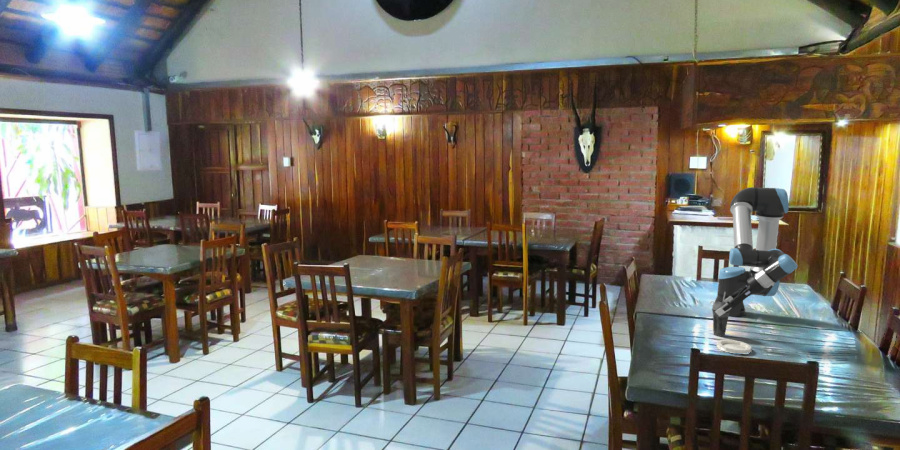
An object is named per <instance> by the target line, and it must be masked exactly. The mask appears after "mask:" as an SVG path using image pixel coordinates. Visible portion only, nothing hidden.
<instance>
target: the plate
mask: <svg viewBox="0 0 900 450" xmlns="http://www.w3.org/2000/svg"><path fill="white" fill-rule="evenodd" d="M717 348H718V350H719V349H720V350H723V351H726V352H730V353H747V352H748V353H749V352H751V353H752V352H753V351H752V346H751V345H750V344H749V343H746V342H744V341H739V340H736V339H735V340H734V339H720V340H718V341H717V343H716V349H717ZM720 350H719V351H720ZM723 351H722V352H723ZM726 352H725V353H726Z"/></svg>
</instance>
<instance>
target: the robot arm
mask: <svg viewBox="0 0 900 450" xmlns="http://www.w3.org/2000/svg"><path fill="white" fill-rule="evenodd" d="M789 204H790V203H789V196H788V192H787V191H786V190H785V189H784V188H777V187H753V186H752V187H746V188H744V189H742V190H739V191H738V192H737V193H736V194H735V195H734V196H733V198H732V200H731V201H730V206H729V207H730V208H729V211H730V213H731V215H732V220H733V221H732V225H733V246H734V247H733V248H731V249H730V250H729V259H728V260H729V261H728V262H729V264H730V265H732V266H727V267H723V268H721V269H720V270H719V272H718V273H719V274H718V277H717V278H718V283H717V295H716V298H715V300H714V301H713V305H714V304H715V303H716V302H718V301H723V297H724V292H726V293H725V298H724V302H726V304H725V305H724V306H722V307H721V308H719V309H718V310H716V311H715V312H716V313H717V314H718V316H719V317H720V316H721V315H723V314H724V313H726V312H727V311H728V310H730V313H729V316H728V317H744V316H745V315H746V307H745V303H744V301H745V300H746V299H747V298H748V297H750V296H751V295H752V296H761V297H774V296H775V295H777V293H778V290H779V288H780V283H781V281H780V280H783V279H784V278H785V277H787V276H789V275H790V274H792V273H793V272H794V271H795V270H796V269H798V268H799V267H798V263H797V262H796V261H795V260H794V259H793V258H792V257H791V256H790V255H789V254H786V253H784V252H783V251H782V250H781V249H778V248H777V243H778V235H779V225H780V220H781V219H783V218H784V216H785V215H784V214H788V212H789V206H790V205H789ZM753 212H755V216H756V217H757V218H758V226H757V237H756V245H755V249H754V243H753V229H752V227H753V226H752V216H751V214H752V213H753ZM745 267H750V269H749V271H748V270H746V268H745ZM713 305H712V306H713Z"/></svg>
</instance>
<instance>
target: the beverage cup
mask: <svg viewBox="0 0 900 450" xmlns="http://www.w3.org/2000/svg"><path fill="white" fill-rule="evenodd" d="M725 293H726V292H724V297H723V301H718V302H716V303H715V304H714V303H713V304H714V305H712V308H711V310H712V321H713V322H712V327H713V328H712V331H713V332H712V333H713V336H715V337H718V338H719V337H720V338H721V337H725V336H726V330H727V326H728V320H729V317H730V316H729V313H730V310H728V311H727V312H726V313H724V314H723V315H721V316H720V317H719V316H718V314H717V313H716V312H715V311H716V310H718V309H719V308H721V307H722V306H724V305H725V304H726V302H724V298H725Z"/></svg>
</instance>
